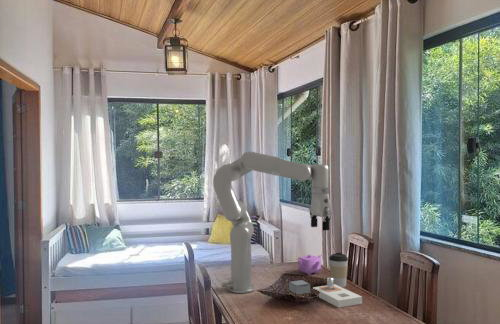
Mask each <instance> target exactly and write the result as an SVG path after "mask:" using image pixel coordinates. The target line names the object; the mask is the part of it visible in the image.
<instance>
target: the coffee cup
mask: <svg viewBox="0 0 500 324" xmlns="http://www.w3.org/2000/svg"><path fill="white" fill-rule="evenodd" d="M328 259H329V272H330V273H329V274H330V277H333V284H335V285H338V286H340V287H342V288H344V287H346V286H347V277H348V266H349V265H348V261H349V258H348V256H347V255H346V254H345V253H341V252H335V253H333V254H331V255H330V256H329V257H328Z"/></svg>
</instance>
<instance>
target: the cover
mask: <svg viewBox="0 0 500 324" xmlns="http://www.w3.org/2000/svg"><path fill="white" fill-rule="evenodd" d="M289 290H290V291H292V292H294V293H296V294H303V293H309V292H310V293H311V283H310V282H307V281H305V280H303V279H299V280H294V281H292V280H291V281H288V291H289Z"/></svg>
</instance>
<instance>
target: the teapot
mask: <svg viewBox="0 0 500 324" xmlns="http://www.w3.org/2000/svg"><path fill="white" fill-rule="evenodd" d="M322 256H323V255H322V254H320V255H318V256H315V255H312V254H307V255H304V256H299V257H298V258H297V259H296V260H297V263H298V264H297V265H298V267H297V268H298V269H297V270H298V271H299V272H301V274H307V276H311V275H312V274H314V275H318V274H319V273H318V272H322Z"/></svg>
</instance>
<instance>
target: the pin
mask: <svg viewBox="0 0 500 324" xmlns="http://www.w3.org/2000/svg"><path fill="white" fill-rule="evenodd" d="M326 286H327V290H333V277H331V276H327V277H326Z"/></svg>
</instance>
